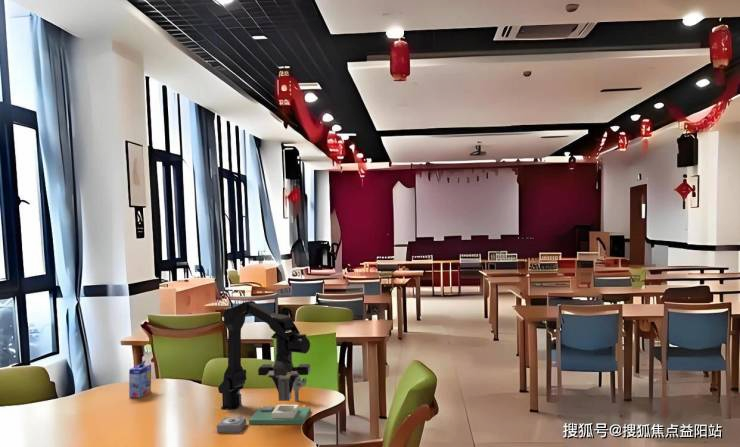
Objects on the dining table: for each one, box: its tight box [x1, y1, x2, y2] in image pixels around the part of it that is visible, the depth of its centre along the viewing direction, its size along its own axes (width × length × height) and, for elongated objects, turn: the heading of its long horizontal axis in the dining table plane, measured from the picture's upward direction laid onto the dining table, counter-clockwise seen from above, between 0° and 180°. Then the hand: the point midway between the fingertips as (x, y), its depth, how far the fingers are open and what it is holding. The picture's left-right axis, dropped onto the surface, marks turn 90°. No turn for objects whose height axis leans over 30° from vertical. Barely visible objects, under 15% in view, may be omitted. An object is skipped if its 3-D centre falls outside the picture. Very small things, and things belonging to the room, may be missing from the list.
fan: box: [216, 416, 247, 434], centre depth 197 cm, size 8×8×3 cm
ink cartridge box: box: [128, 359, 152, 399], centre depth 242 cm, size 10×6×14 cm, turn 175°
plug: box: [277, 375, 293, 402], centre depth 206 cm, size 4×5×8 cm
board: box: [248, 404, 311, 425], centre depth 207 cm, size 20×14×4 cm
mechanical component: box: [286, 373, 307, 402], centre depth 227 cm, size 3×10×10 cm, turn 53°
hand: (285, 392), depth 207 cm, fingers closed on plug, 4 cm apart
